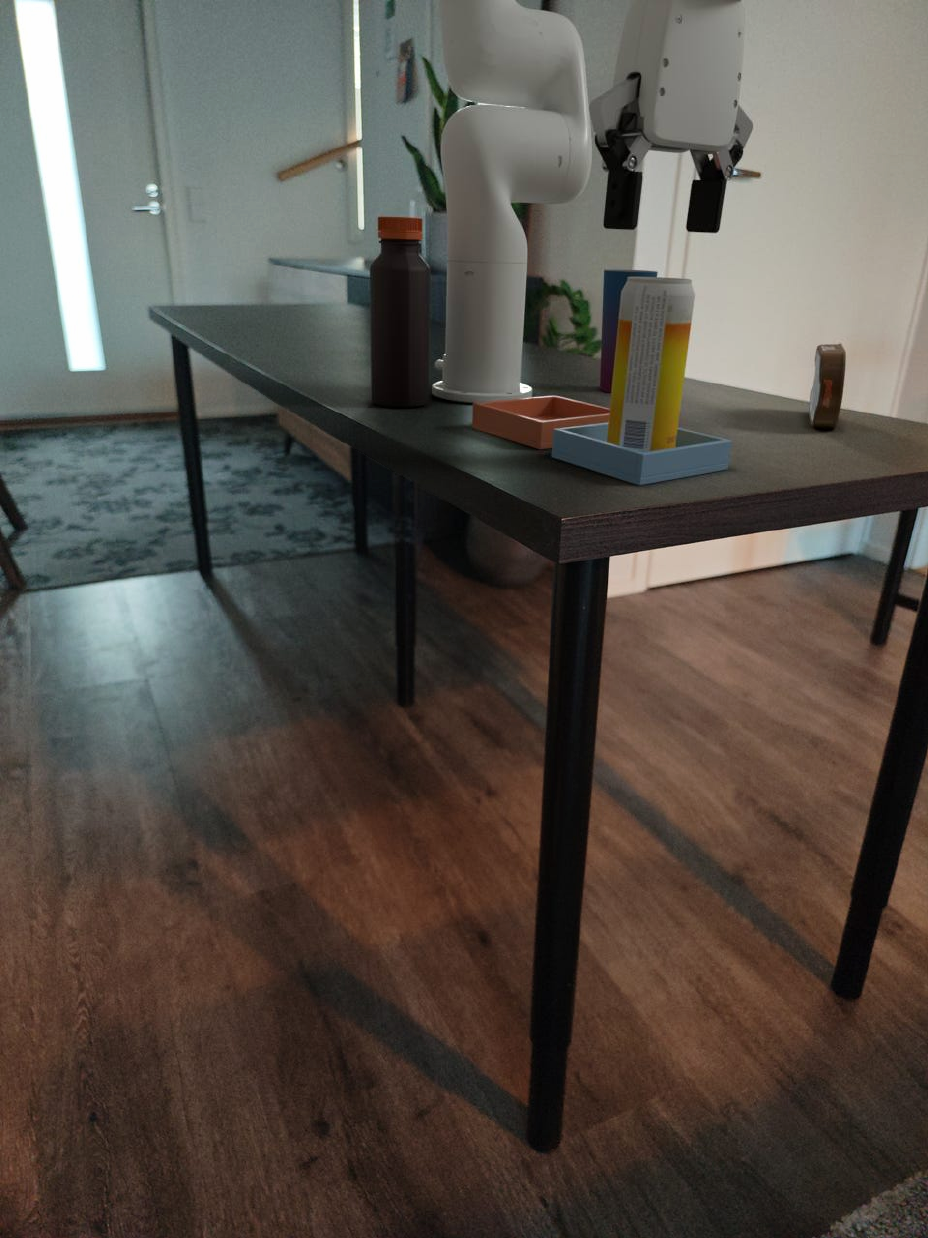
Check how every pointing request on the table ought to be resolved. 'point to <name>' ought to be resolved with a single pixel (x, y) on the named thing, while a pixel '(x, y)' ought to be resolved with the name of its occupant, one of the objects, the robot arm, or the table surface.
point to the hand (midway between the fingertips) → (662, 230)
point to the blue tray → (640, 455)
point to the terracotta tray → (534, 418)
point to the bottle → (400, 316)
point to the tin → (827, 386)
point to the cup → (613, 319)
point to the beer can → (650, 362)
